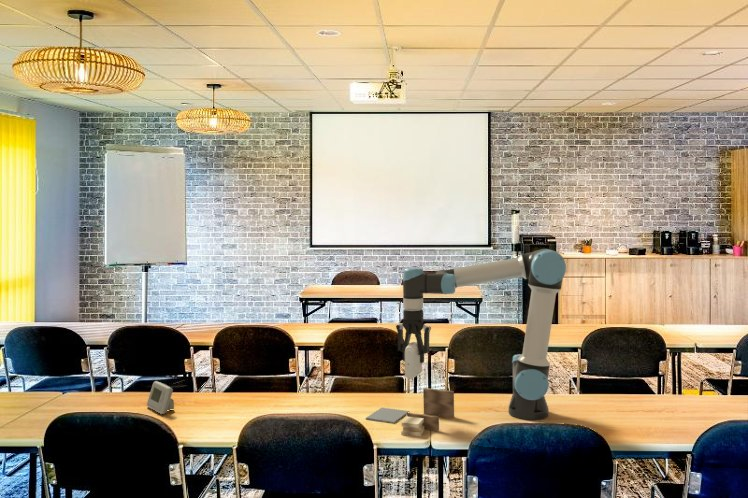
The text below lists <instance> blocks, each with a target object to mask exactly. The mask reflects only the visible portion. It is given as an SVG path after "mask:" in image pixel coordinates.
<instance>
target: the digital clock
mask: <svg viewBox="0 0 748 498" xmlns="http://www.w3.org/2000/svg"><path fill="white" fill-rule="evenodd" d="M173 391H174V389H173V387H171V386H170V385H167V384H166V383H162V382H160V381H158V380H155V381H153V383H152V386H151V389H150V392H149V395H148V399H147V402H146V406H147V408H148V409H150V410H152V409H153V410H155V411H156V412H155V411H154V412H155V413H157V412H158V413H157V414H159V413H160V414H159V415H162V414H164V415H166V414H167V413H168V412H167V410H170V409H174V410H175V402H174V399H173V398H172V395H173ZM153 410H152V411H153ZM165 413H166V414H165Z"/></svg>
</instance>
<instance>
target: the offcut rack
mask: <svg viewBox="0 0 748 498" xmlns="http://www.w3.org/2000/svg"><path fill="white" fill-rule="evenodd" d="M422 390H423V392H422V393H423V394H422V395H423V398H422V399H423V414H421V413H420V414H419V413H415V412H414V413H413V412H409V413H407V415H406V418H407V417H416V418H424V423H423V426H424V430H427V431H434V432H440V418H441V417H442V418H451V419H454V418H455V391H454V390H445V389H436V388H428V387H424V388H423V389H422Z"/></svg>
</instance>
